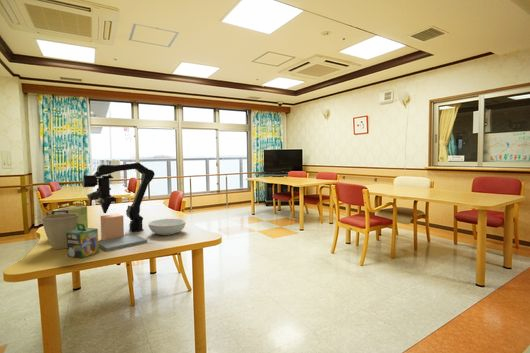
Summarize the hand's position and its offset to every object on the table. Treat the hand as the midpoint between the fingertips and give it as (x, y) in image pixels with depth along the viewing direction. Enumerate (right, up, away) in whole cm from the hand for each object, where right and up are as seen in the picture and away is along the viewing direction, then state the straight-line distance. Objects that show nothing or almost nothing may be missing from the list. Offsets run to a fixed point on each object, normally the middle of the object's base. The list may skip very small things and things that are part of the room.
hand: (104, 213), depth 165 cm
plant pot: (-10, -15, -22) cm, 28 cm away
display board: (+18, -14, -16) cm, 27 cm away
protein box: (-22, -13, +3) cm, 26 cm away
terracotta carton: (+8, -14, -7) cm, 17 cm away
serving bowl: (+35, -13, +6) cm, 37 cm away
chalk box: (+9, -15, -33) cm, 37 cm away
